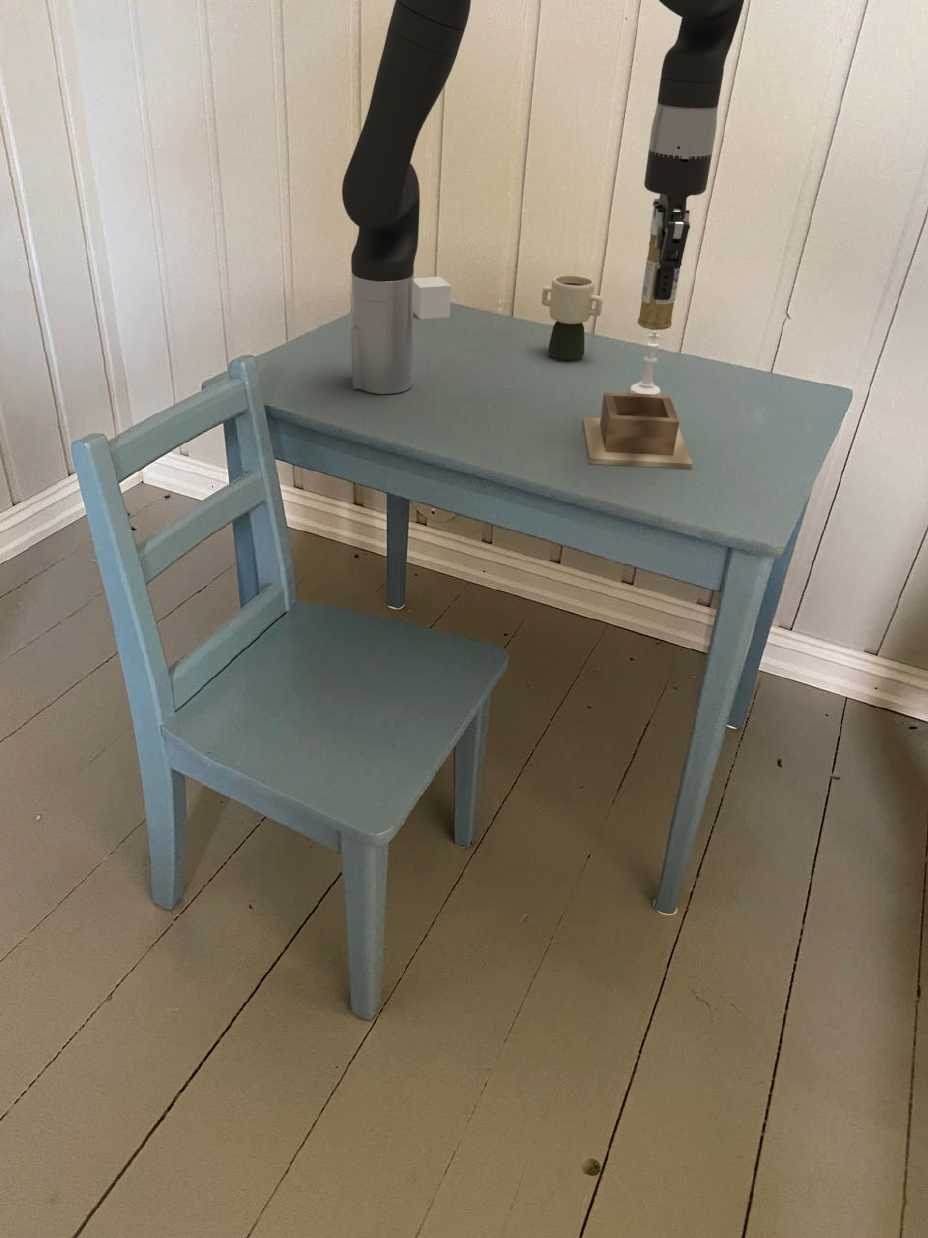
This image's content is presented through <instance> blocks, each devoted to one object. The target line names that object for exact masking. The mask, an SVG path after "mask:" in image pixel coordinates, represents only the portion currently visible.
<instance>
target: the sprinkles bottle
mask: <svg viewBox="0 0 928 1238" xmlns="http://www.w3.org/2000/svg"><path fill="white" fill-rule="evenodd" d="M655 218H656V217H653V218H652V217H651V222H650V228H649V233H651V235H650V237H651V239H650V237H649V241H650V245H649V244H648V253H647V258H646V261H645V263H646V264H645V270H644V275H643V276H644V278H643V282H642V283H643V284H642V290H641V298H640V299H641V302H640V309H639V317H638V319H637V324H638V325H639V326H640V327H641V328H644V329H647V330H651V331H652V330H653V331H658V330H660V331H663V330H668V329H669V328H671V327H672V318H673V312H674V311H673V310H674V304H675V301H676V296H677V291H678V283H679V278H680V271H681V268H680V269H677V270H675V274H674V280H673V286H672V292H671V298H670V299H669V300H656V299H654V297H653V290H654V283H655V277H656V270H657V266H656V262H657V259H658V250H657V249H656V248H655V238H656V231H657V224H656V223H655ZM662 228H663V225H662ZM661 240H662V241H663V242H664V238H663V236H662V235H661ZM673 255H674V252H673V251H669V252H668V253H667V257H666V258H673Z"/></svg>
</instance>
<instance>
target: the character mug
mask: <svg viewBox="0 0 928 1238" xmlns="http://www.w3.org/2000/svg"><path fill="white" fill-rule="evenodd" d="M551 281H552V282H551V286H550V285H543V288H542V292H541V293H542V295H541V305H543V306H545V307H549V311H548V312H549V316H550V319H552V320H554V321H555V322H554V324H553V326H552V330H551V335H550V339H549V343H548V349H547V351H548V353H549V355H551V356H552V357H554V358H556V359H562V360H565V359H566V360H572V359H576V358H579V357H583V356H584V355H585V326H584V323H586V322H588V321H589V319H590V317H591V316H593V317H594V316H595V317H600V316H601V314H602V308H603V297H602V296H600V295H595V293H594V292H595V287H596V283H595V280H594V279H592V278H591V277H589V276H584V275H582V274H581V275H579V274H561V275H556V276H554V277H553V278H552V280H551ZM549 293H550V300H549V299H548V295H549ZM594 302H596V305H595V309H593V305H594V304H593V303H594Z"/></svg>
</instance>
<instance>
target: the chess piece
mask: <svg viewBox="0 0 928 1238" xmlns="http://www.w3.org/2000/svg"><path fill="white" fill-rule="evenodd" d="M652 332H653V333H652V334H648V339H652V340H651V341H648V342H646V343H645V344H646V351H647V355H646V356H644V358H643V360H644V361H645V362H646V365H645V367H644V368H645V369H644V371H643V376H642V379H641V380H640V381H639V382H637V383H634V384H632V385H631V386H630V389H629V393H635V394H654V395H662V393H661V389H660V387H659V386H657V385H655V384H654V382H653V368H654V367H653V366H654V363H656V362H658V357H656V356H655V355H656V353H657V351H658V349H659V347H660V343H658V342H657V341H656V340H660V338H661V336H660V335H657V330H653V331H652Z"/></svg>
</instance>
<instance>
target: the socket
mask: <svg viewBox="0 0 928 1238" xmlns="http://www.w3.org/2000/svg"><path fill="white" fill-rule="evenodd" d="M601 405H602V406H601V412H600V417H588V416H587V417H585V416H583V417H582V427H583V433H584V437H585V438H584V439H585V444H586V450H587V456H588V462H589V463H588V464H589V465H590V464H591V465H607V466H610V465H611V466H626V467H627V466H629V467H643V468H645V467H648V468H662V469H663V468H666V469H685V470H686V469H688V470H691V469H692V467H693V462H692V459H691V457H690V455H689V454H690V453H689V451H688V448H687V445H686V443H685V440H684V438H683V435H682V432H681V429H680V427H679V425H680V420H679V417H678V414H677V412H676V409H675V407H674V404H673V402H672V399H671V396H670V395H669V394H661V395H654V394H635V393H630V392H612V391H604V392H603V398H602V404H601Z"/></svg>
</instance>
